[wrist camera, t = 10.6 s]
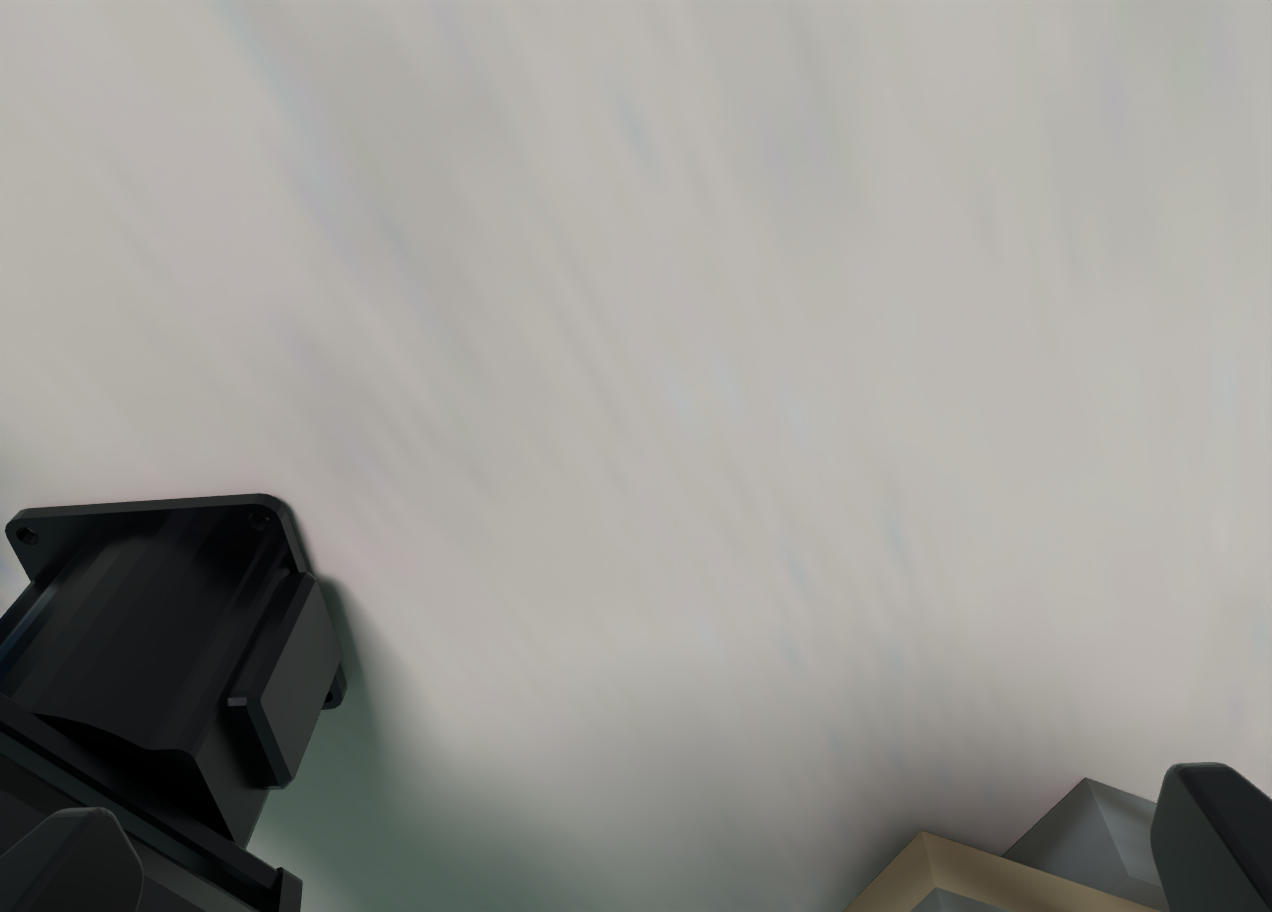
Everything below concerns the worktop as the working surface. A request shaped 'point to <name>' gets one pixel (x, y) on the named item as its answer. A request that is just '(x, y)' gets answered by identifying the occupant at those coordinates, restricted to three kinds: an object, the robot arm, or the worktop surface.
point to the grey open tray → (1034, 865)
